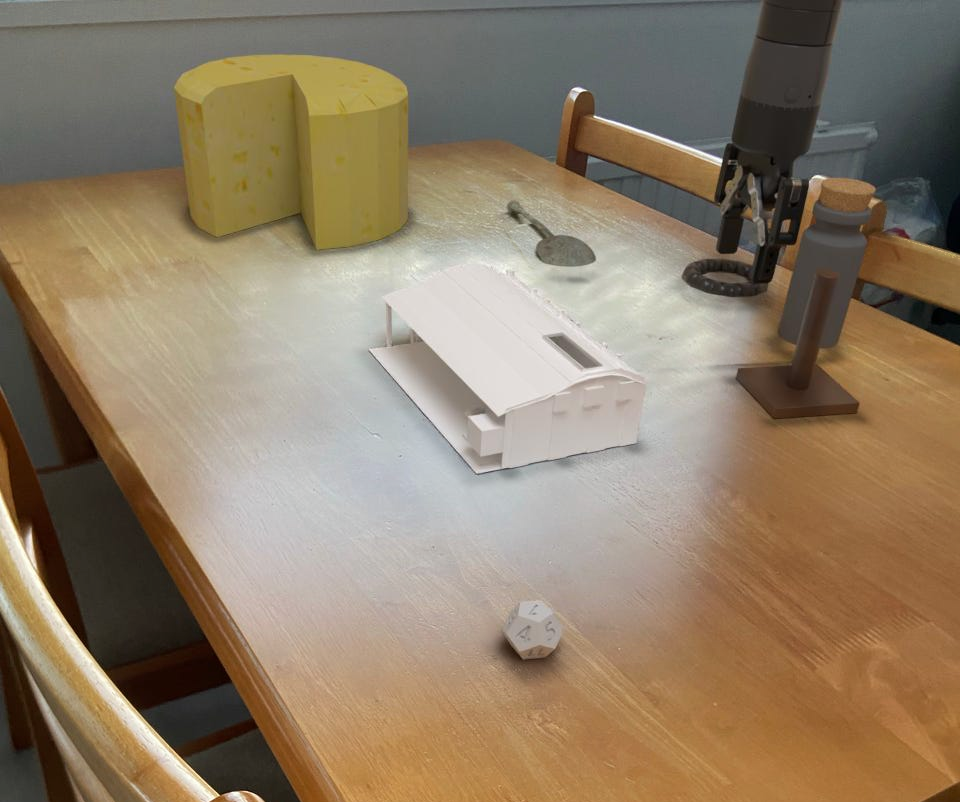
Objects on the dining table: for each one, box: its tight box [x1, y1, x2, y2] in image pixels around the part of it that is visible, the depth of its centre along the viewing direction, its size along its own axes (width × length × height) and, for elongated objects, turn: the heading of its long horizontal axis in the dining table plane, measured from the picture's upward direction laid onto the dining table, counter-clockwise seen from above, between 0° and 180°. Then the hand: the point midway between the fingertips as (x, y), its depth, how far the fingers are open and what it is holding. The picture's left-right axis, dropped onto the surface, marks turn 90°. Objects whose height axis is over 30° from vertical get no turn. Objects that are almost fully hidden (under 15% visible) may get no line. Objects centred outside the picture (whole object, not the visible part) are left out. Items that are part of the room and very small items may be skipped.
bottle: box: [777, 177, 876, 350], centre depth 95 cm, size 6×6×15 cm
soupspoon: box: [506, 199, 597, 268], centre depth 118 cm, size 22×3×7 cm
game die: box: [501, 599, 564, 660], centre depth 61 cm, size 4×4×3 cm
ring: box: [681, 257, 770, 298], centre depth 109 cm, size 9×9×2 cm
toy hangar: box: [368, 261, 647, 475], centre depth 86 cm, size 25×15×7 cm, turn 25°
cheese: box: [173, 53, 409, 251], centre depth 118 cm, size 26×26×15 cm
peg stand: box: [735, 269, 860, 419], centre depth 87 cm, size 8×8×11 cm
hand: (742, 267), depth 105 cm, fingers open, 8 cm apart
